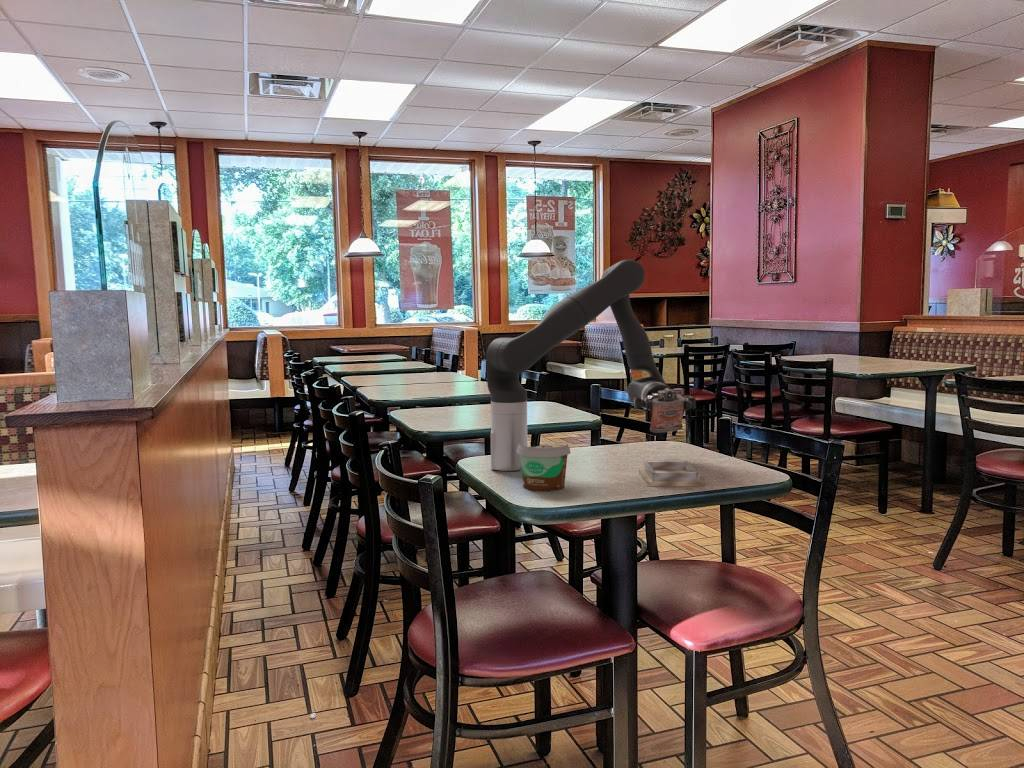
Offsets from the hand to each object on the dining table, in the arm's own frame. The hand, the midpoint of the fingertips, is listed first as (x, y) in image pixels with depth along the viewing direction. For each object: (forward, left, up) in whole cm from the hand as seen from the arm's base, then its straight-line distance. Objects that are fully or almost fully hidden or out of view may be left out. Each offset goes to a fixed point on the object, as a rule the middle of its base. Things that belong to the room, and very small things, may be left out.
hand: (669, 406), depth 174 cm
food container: (-30, -8, -18) cm, 36 cm away
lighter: (0, +3, -6) cm, 7 cm away
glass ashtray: (+1, +2, -18) cm, 18 cm away
